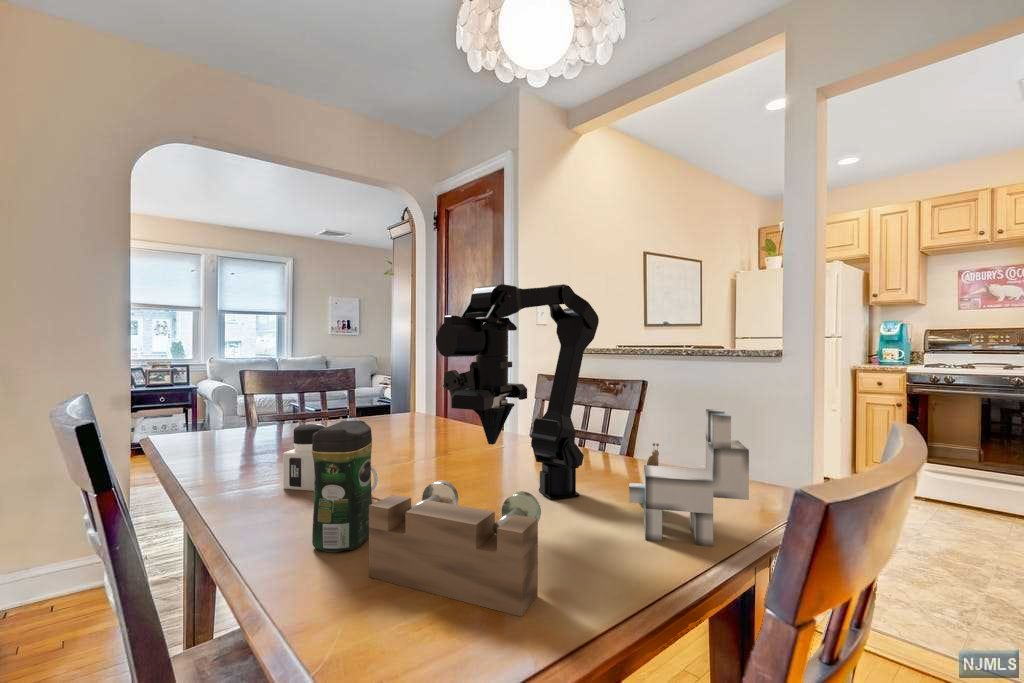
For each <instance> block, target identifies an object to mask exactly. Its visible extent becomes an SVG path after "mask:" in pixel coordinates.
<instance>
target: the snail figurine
mask: <svg viewBox="0 0 1024 683" xmlns="http://www.w3.org/2000/svg"><path fill="white" fill-rule="evenodd" d="M651 444H652V447H655V446H656V447H657V449H655V448H654V449H653V450H652V451H651V455H649V457H648V458H647V462H646V465H650V466H659V455H660V452H659V451H658V450H659V448H658V447H659V446H660V444H659V443H658V442H657V443H655V442H653V443H651ZM638 504H639V505H640V507H641V508H642V509H643V510H644V503H638Z"/></svg>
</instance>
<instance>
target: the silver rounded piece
mask: <svg viewBox="0 0 1024 683" xmlns="http://www.w3.org/2000/svg"><path fill="white" fill-rule="evenodd" d="M421 500H422V501H420V502H418V503H416V504H414V505H413V504H412V505H411V507H410V508H409V509H408V510H410V509H412V508H414V507H416V506H418V505H420V504H422V503H424V502H426V501H428V500H429V501H435V502H441V503H447V504H453V505H459V501H460V500H459V493H458V491H457V488H456V487H455V486H454V485H453V483H451V482H450V481H448V480H445V479H440V480H437V481H435V482H433V483H431V484H429V485H427V486H426V487H425V488H424V490H423V492H422V497H421Z"/></svg>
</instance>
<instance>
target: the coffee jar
mask: <svg viewBox="0 0 1024 683" xmlns="http://www.w3.org/2000/svg"><path fill="white" fill-rule="evenodd" d="M325 427H326V428H322V429H320V430H319V431H318V432H315V433H314V434H313V437H312V439H313V442H312V455H313V460H314V472H315V479H314V491H313V513H312V535H311V536H312V538H311V540H312V542H311V543H312V546H313V548H315V549H317V550H319V551H320V550H321V551H322V552H326V553H328V552H329V553H339V552H343V551H349V550H354V549H356V548H358V547H360V546H361V545H362V544H363V543H364V542H365V541H367V539H369V505H371V504H373V500H372V498H373V497H372V492H371V487H372V475H371V474H372V471H371V466H372V452H373V451H372V450H373V449H372V448H373V438H372V437H373V435H372V427H371V426H370V425H369V424H368V423H366V421H364V420H341V421H339V422H337V423H334V424H332V425H329V426H325Z"/></svg>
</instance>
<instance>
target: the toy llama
mask: <svg viewBox="0 0 1024 683" xmlns="http://www.w3.org/2000/svg"><path fill="white" fill-rule="evenodd" d="M715 498H717V499H729V500H730V499H731V500H732V499H733V500H742V501H743V500H746V501H749V500H750V450H749V448H747V447H746V446H745V445H744V444H743V443H742V442H740V441H739V440H737V439H736V440H735V439H732V416H731V415H730V414H729V413H726V412H725V411H724V410H723V409H719V408H717V409H713V408H711V409H710V408H705V468H702V467H700V468H699V467H682V466H681V467H680V466H667V465H666V466H665V465H663V466H661V465H658V466H650V465H647V464H646V465H645V464H644V465H643V483H640V482H639V483H636V482H629V483H628V502H629V503H634V504H639V503H644V509H643V528H644V539H645V540H644V541H650V542H660V543H662V542H663V511H671V512H673V511H674V512H685V513H689V529H690V531H691V533H693V540H694V543H695V545H696V546H703V547H714V499H715Z"/></svg>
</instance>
